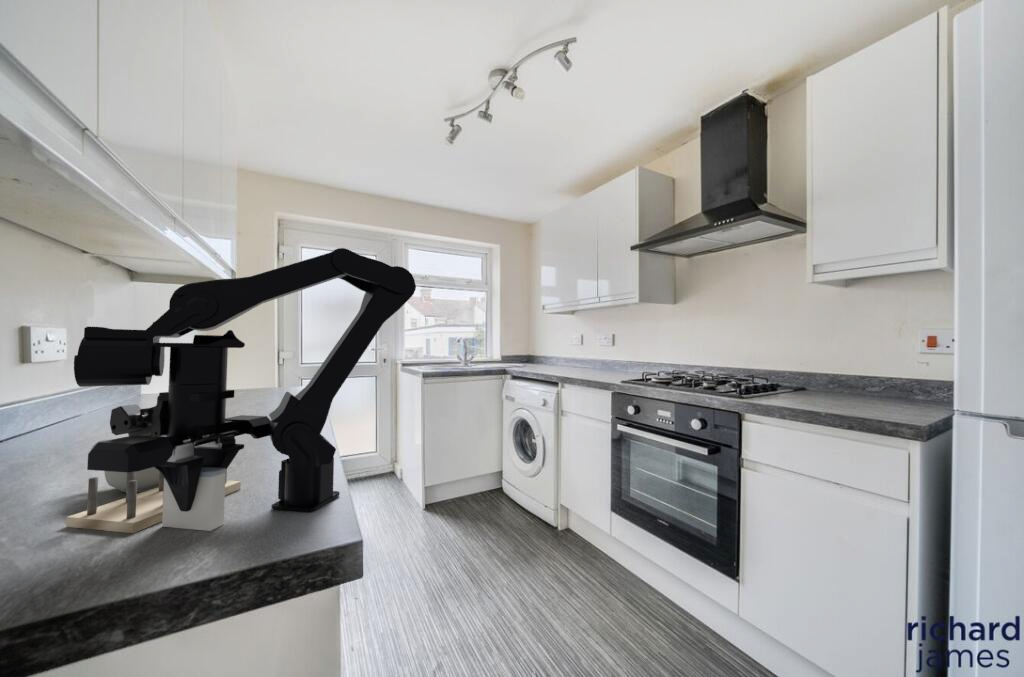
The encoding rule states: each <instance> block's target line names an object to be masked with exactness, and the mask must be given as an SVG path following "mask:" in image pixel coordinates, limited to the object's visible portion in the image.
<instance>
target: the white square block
mask: <svg viewBox="0 0 1024 677" xmlns="http://www.w3.org/2000/svg"><path fill="white" fill-rule="evenodd" d="M225 477H226V468H211V467H202V468H201V472H200V477H199V481H198V485H197V490H196V494H195V498H194V501H193V504H192V507H191V510H190V511H187V512H185V511H180V509H179V507H178V505H177V502H176V500H175V498H174V496H173V494H172V492H171V489H170V487H169V485H168V483H167V481H166V480H165V478H164V493H163V518H162V522H161V527H165V528H166V527H167V528H174V529H175V528H176V529H183V530H184V529H186V530H187V529H188V530H198V531H206V532H207V531H209V532H210V531H213V530H216V529H217V528H220V527H221V526H223V525H224V524H225V500H226V495H225Z"/></svg>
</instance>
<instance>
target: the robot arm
mask: <svg viewBox="0 0 1024 677" xmlns="http://www.w3.org/2000/svg"><path fill="white" fill-rule="evenodd" d="M336 279H340V280H342V281H345V283H348V284H349V285H351V286H353V287H354V288H356V289H358V290H360V291H362V292H364V295H363V299H362V302H361V305H360V308H359V311H358V312H357V313H356V316H355V317H354V318H353V319H352V321H351V322H350V324H349V326H348V327H347V328H346V330H345V331H344V333H343V334H342V335H341V337H340V338H339V340H338V341H337V342H336V344H335V345H334V346H333V348H332V350H331V351H330V353H329V354H328V355H327V357H326V358H325V360H324V361H323V362H322V364H320V366H319V368H318V369H317V371H316V372H315V373H314V375H313V376H312V377H311V379H310V381H309V382H308V384H307V385H306V386H305V387H304V388H303V389H302V390H300V391H299V392H298V393H297V394H295V395H293V394H292V393H291V392H289V391H286V392H285V393H284V395H283V397H282V398H281V401H280V403H279V405H278V406H277V408H275V409H274V410H273V411H272V412H270V413H269V414H268V415H247V414H246V415H245V414H244V415H243V414H241V415H236V416H230V417H226V415H227V414H226V408H227V406H226V405H227V399H234V398H235V389H227V386H228V385H227V384H228V383H227V381H228V380H227V379H228V356H229V355H228V354H229V349H242V348H244V347H245V346H246V343H245V342H244V341H242V340H241V339H239V338H238V337H237V336H236V335H235V333H234V331H233V330H231V329H229V330H227V331H226V332H225V333H224V334H223V335H221V334H220V335H214V334H213V335H212V334H211V335H210V334H194V336H193V340H192V342H160V340H161V339H162V338H166V339H167V338H171V339H172V338H173V339H176V338H181V337H182V336H186V335H188V334H189V333H191V332H193V331H198V332H208V331H214V330H216V329H218V328H220V327H222V326H224V325H226V324H228V323H230V322H231V321H233V320H236V319H237V318H238V317H241V316H243V315H244V314H246V313H247V312H249V311H251V310H253V309H254V308H256V307H259V306H260V305H262V304H265V303H267V302H271V301H274V300H277V299H279V298H282V297H286V296H288V295H291V294H294V293H297V292H300V291H303V290H306V289H309V288H312V287H314V286H317V285H320V284H324V283H327V282H330V281H332V280H336ZM416 288H417V284H416V281H415V278H414V276H413V274H412V273H411V271H409V270H408V269H406V268H404V267H403V266H398V265H396V266H391V265H389V264H387V263H385V262H383V261H380V260H376V259H373V258H370V257H366V256H364V255H360V254H358V253H356V252H355V251H352V250H351V249H349V248H344V247H340V248H336V249H334V250H332V251H330V252H327V253H323V254H322V255H318V256H315V257H312V258H308V259H304V260H301V261H297V262H294V263H291V264H288V265H284V266H281V267H278V268H273V269H270V270H267V271H265V272H261V273H258V274H254V275H251V276H246V277H245V276H243V277H234V278H233V277H231V278H219V279H213V280H206V281H197V282H190V283H187V284H183V285H181V286H180V287H178V288H177V289H175V290H174V291H173V293H172V295H171V297H170V299H169V305H168V308H169V309H168V310H166V311H165V312H164V313H163V314H162V315H161V316H160V317H158V318H157V319H156V320H155V321H153V322H152V324H151V325H150V326H148V327H147V328H146V329H123V328H122V329H121V328H120V329H119V328H115V329H114V328H108V327H104V326H85V327H84V330H83V331H84V333H83V337H82V338H81V340H80V343H79V346H78V350H77V354H76V355H74V357H73V374H74V379H75V380H74V381H75V383H76V384H77V386H78V387H79V388H87V387H89V388H90V387H91V388H92V387H118V386H119V387H121V386H148V385H150V384H151V383H152V382H151V381H152V378H153V376H155V377H162V376H163V375H164V368H165V356H166V355H165V348H169V366H168V367H169V370H168V371H169V372H168V390H167V391H163V392H158V394H159V395H158V396H157V397H156V404H155V406H154V405H153V406H152V407H146V408H141V407H140V406H139V404H128V405H120V406H117V407H115V408H112V409H111V413H110V419H109V427H110V430H111V433H112V435H114V436H121V435H126V434H127V436H128V437H126V436H122V437H123V438H121V437H118V438H113V439H112V438H111V439H112V440H107V441H101V440H100V441H101V442H99V441H97V442H98V443H97V442H96V443H97V444H96V443H95V444H96V445H95V446H94V447H93V446H92V447H93V448H92V447H91V449H90V451H89V452H88V454H87V468H86V469H87V471H99V472H104V471H112V472H127V473H128V472H136V471H141V470H145V469H148V468H152V467H154V468H156V469H157V470H159V471H160V472H161V474H162V475H163V477H164V478H165V480H166V481H167V483H168V485H169V487H170V489H171V492H172V494H173V496H174V498H175V500H176V502H177V505H178V507H179V509H180V511H185V512H187V511H190V510H191V507H192V504H193V501H194V498H195V494H196V490H197V485H198V481H199V477H200V472H201V468H202V467H211V468H226V470H227V469H228V468H229V467H230V465H231V464H232V462H233V460H234V459H235V458H236V456H237V455H238V453H239V452H240V451H241V450H243V449H245V444H242V443H237V440H236V437H238V436H242V435H250V436H251V438H253V439H257V440H259V439H261V438H262V439H263V438H265V437H269V439H270V441H271V444H272V446H273V447H274V449H275V450H276V451H277V452H278V453H280V454H282V455H285V456H288V458H285V459H283V460H281V461H280V465H281V466H280V470H278V484H277V485H278V488H277V490H278V491H277V493H278V494H277V496H278V497H277V498H278V501H276V502H274V503H271V509H273V510H283V511H284V510H285V511H287V510H288V511H299V512H314V511H316V510H317V509H319V508H321V507H322V506H324V505H326V504H327V503H329V502H330V501H333V500H334V499H336V498H337V497H339V496H340V494H341V493H340V491H338V490H337V491H336V490H334V474H335V472H334V469H335V468H334V467H335V457H334V456H335V454H336V450H337V449H336V447H335V446H334V444H332V443H331V442H330V441H329V440H328V439H326V437H324V435H322V434H321V433H322V432H323V429H324V426H325V424H326V423H327V422H326V421H327V419H328V416H329V412H330V410H331V406H332V403H333V400H334V398H335V397H336V395H337V394H338V392H339V391H340V389H341V388H342V386H343V385H344V383H345V381H346V380H347V379H348V377H349V375H350V374H352V373H351V372H352V371H353V370H354V368H355V367H356V365H357V363H358V362H359V360H361V358H362V356H363V355H364V353H365V352H366V350H367V348H368V347H369V346H370V344H371V343H372V341H373V339H374V338H375V337H376V335H377V334H378V332H379V331H380V329H381V328H382V326H383V324H384V323H385V322H386V321H387V320H388V319H390V318H391V317H392V316H393V315H394V314H395V313H397V312H398V311H399V310H400V309H401V308H402V307H403V306H404V305H405V304H406V303H407V302H408V301H409V300H410V299H411V298H412V297H413V295H414V294H415V291H416ZM268 416H269V417H268ZM163 435H167V437H159V436H163ZM189 439H190V441H186V442H183V441H185V440H189ZM227 471H228V470H227Z"/></svg>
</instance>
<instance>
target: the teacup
mask: <svg viewBox="0 0 1024 677" xmlns="http://www.w3.org/2000/svg"><path fill="white" fill-rule="evenodd" d="M128 436H129V435H127V436H125V437H128ZM123 437H124V436H121V437H120V438H123ZM159 437H167V435H163V436H159ZM107 440H112V438H106V439H105V438H104V439H101V440H99V441H97V442H95V443H94V444H93V445H92V446H91V449H92V448H93V447H94V446H95V445H96V444H97V443H98V442H101V441H107ZM186 441H190V439H189V440H185V441H183V442H186ZM103 472H104V477H105V480H106V483H107V484H108V485H109V486H110V487H112V488H113V489H116V490H119V491H120V492H122V493H126V485H127V472H112V471H103ZM159 473H160V471H159V470H157V469H156V468H154V467H152V468H148V469H145V470H141V471H136V472H135V480H137V494H139V493H142V492H145V491H148V490H151V489H154V488H157V487H159Z"/></svg>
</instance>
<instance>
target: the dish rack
mask: <svg viewBox="0 0 1024 677" xmlns="http://www.w3.org/2000/svg"><path fill="white" fill-rule="evenodd" d="M227 472H228V470H226V477H225V496H227V495H230V494H232V493H235V492H237V491H239V490H241V486H242V484H241V483H242V481H237V480H227ZM87 488H88V490H87V508H86V510H84V511H80V512H77V513H75V514H71V515H67V516H66V521H65V522H66V523H65V527H66V528H74V529H85V530H96V531H107V532H117V533H128V534H134V533H137V532H139V531H142V530H144V529H147V528H149V527H152V526H154V525H157V524H159V523H162V518H163V493H164V477H163V475H162V474H161V472H160V473H159V487H157V488H154V489H151V490H148V491H145V492H140V493H137V480H135V472H128V473H127V485H126V492H125V497H124V498H122V499H117V500H114V501H111V502H108V503H105V504H103V505H100V506H97V505H98V488H99V477H98V476H94V477H90V478H88V487H87Z"/></svg>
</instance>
